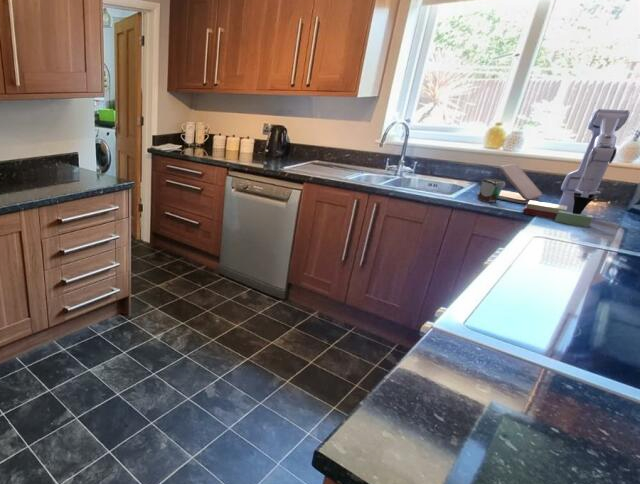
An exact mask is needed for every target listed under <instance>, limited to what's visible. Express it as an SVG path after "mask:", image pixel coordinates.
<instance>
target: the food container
mask: <svg viewBox="0 0 640 484" xmlns="http://www.w3.org/2000/svg"><path fill="white" fill-rule="evenodd" d="M505 187H506V182H505V181H503V180H499V179H495V178H487V177H485V178H484V177H483V178H482V180H481V185H480V188H479V191H478V193H479V195H477V197H476V198H477V200H480V201H482V202H484V203H486V204H496V203H497V201H498V199H497V198H498V196H499V194H500V192H501V190H503V188H505Z"/></svg>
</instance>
